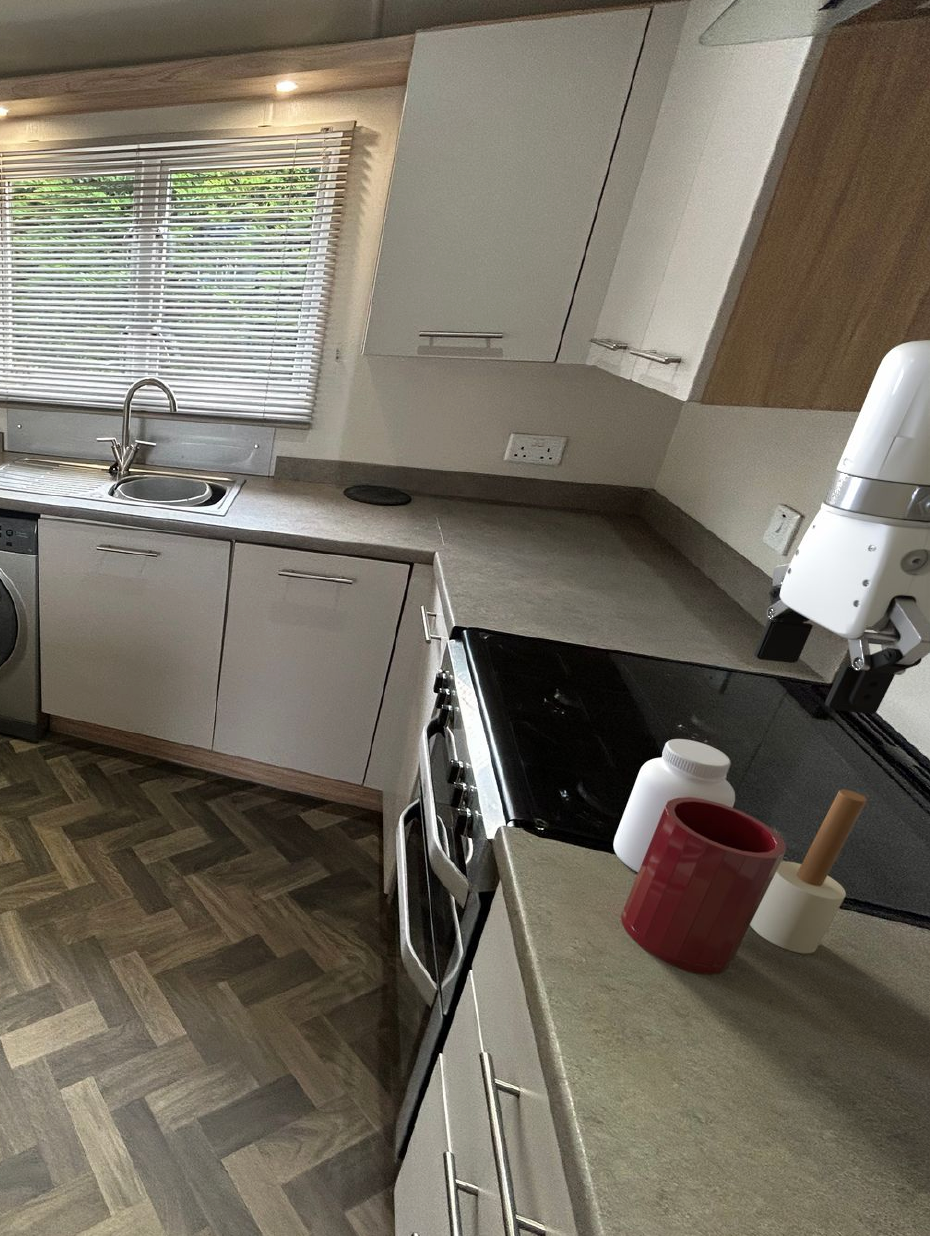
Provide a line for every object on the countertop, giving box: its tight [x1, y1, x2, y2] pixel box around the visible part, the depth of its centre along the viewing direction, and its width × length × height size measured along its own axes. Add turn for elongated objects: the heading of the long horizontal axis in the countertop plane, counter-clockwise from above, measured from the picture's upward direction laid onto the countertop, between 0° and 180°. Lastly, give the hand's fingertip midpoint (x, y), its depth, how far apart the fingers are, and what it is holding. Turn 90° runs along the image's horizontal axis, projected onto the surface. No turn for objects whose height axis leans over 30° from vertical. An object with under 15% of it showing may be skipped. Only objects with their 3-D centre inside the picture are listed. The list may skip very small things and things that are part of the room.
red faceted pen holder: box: [620, 797, 787, 975], centre depth 69 cm, size 8×8×14 cm
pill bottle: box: [612, 738, 736, 873], centre depth 78 cm, size 8×8×15 cm
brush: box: [749, 789, 868, 955], centre depth 69 cm, size 5×5×17 cm
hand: (809, 683), depth 64 cm, fingers open, 9 cm apart
